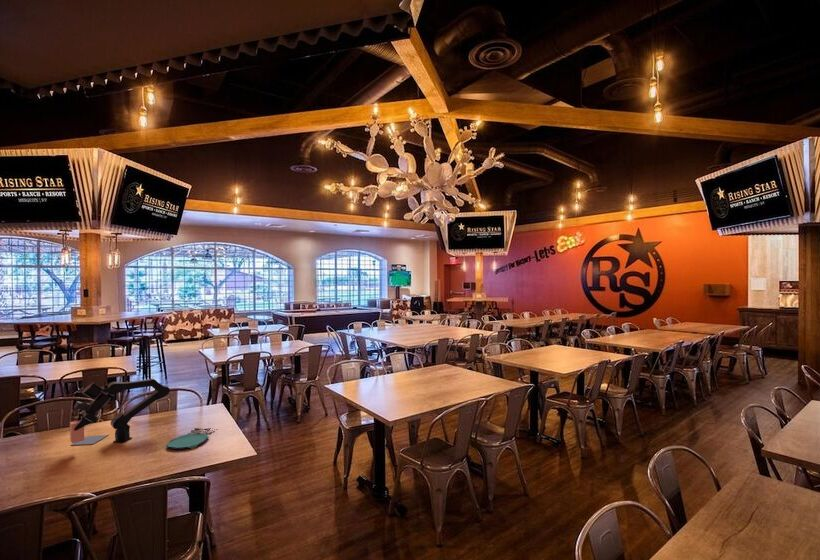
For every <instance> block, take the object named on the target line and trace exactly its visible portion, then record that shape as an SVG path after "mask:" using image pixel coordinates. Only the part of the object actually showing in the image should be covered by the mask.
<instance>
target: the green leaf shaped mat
mask: <svg viewBox="0 0 820 560" xmlns="http://www.w3.org/2000/svg"><path fill="white" fill-rule="evenodd" d="M194 429H202V428H201V427H200V428H199V427H197V428H196V427H194V428H193V429H191V430H190V432H187V434H183V435H179V436H177V437H174V438H173V439H171V440H169V441H168V442H167V443H166V445H165V447H166V448H167V449H169V448H170V449H174V450H181V449H188V448H189V449H191V450H194V449H196V448H197V446H199V445H202V444H204V443H205V442H207V440H208V439H210V437H209V435H211V434H210V433H206V432H201V431H202V430H194ZM207 429H209V430H210V429H211V427H208V428H207ZM206 431H207V432H209V431H208V430H206ZM193 448H194V449H193Z"/></svg>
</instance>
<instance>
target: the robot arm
mask: <svg viewBox="0 0 820 560" xmlns="http://www.w3.org/2000/svg"><path fill="white" fill-rule="evenodd" d="M146 387H151V388H153V389H154V390H153V391H152V392H151V393H150V395H148V396H147V397H146V398H144V399H143V400H141V401H140V402H138V404H136V405H135V406H133V407H131V408H130V409H129V410H127V411H126V412H123V413H122V411H120V412H118V413H117V414H116V415H114V416H113V417H112V419H111V421H110V426H111V427H112V428H113V429H114V430H115V431H114V440H113V441H112V443H120V444H122V443H124V442H127V441H129V440H132V439H133V437H132V436H130V428H131V425H130V424H128V423H130V421H131V420H132V419H133V417H135V416H136V415H138V414H139V413H140V412H141V411H143V410H145V409H146V408H147V407H148V406H150V405H152V404H154V402H156V401H158V400H161V399H163V398H165V397H167V396H168V395H169V394H170V392H171V390H170V388H169V386H166V385H163V384H161V383H160V382H158V381H157V380H156V379H154V378H149V379H143V380H142V379H141V380H135V381H127V382H126V381H111V382H110V383H108V384H106V385H103V386H100V385H98V384H96V383H95V382H94V381H93V382H92V383H90V384H88V385H87V386H86V387H84V388H83V390H82V391H81V394H83V395H85V396H87V397H88V398H90V399H94V400H93V401H91V400H90V401H89V402H85V401H78V400H77V401H76V402H75V404H74V406H73V408H74V409H76V410H77V419H75V421H78V420H81V421H80V422H79V423H78V424H77V426H76V427H75V429H74V430H75V431H76V430H78V429H80V428H82V427H84V428H85V427H86V426H88V425H90V424H93V423H94V424H96V423H97V421H99V420H98V419H99V418H98V416H97V414H98V412H100V410H101V411H102V410H103V409H104V406H105V405H107V403H109V402H110V400H113V401H115V400H116V395H115V394H120V393H123V392H125V391H128V390H134V389H140V388H146Z"/></svg>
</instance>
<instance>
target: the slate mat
mask: <svg viewBox="0 0 820 560" xmlns="http://www.w3.org/2000/svg"><path fill="white" fill-rule="evenodd" d="M107 437H109V434H104V435H101V434H100V435H86V436H84V441H80V442H76V443H71V444H70V446H71V447H72V446H74V447H75V446H93V445H95V444H97V443H98V442H101V441H103V439H106V438H107Z"/></svg>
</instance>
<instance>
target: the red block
mask: <svg viewBox="0 0 820 560" xmlns="http://www.w3.org/2000/svg"><path fill="white" fill-rule="evenodd" d="M80 421H81V420H78V421H76V420H74V421H69V432H70V433H69V434H70V435H69V437H70V439H69V440H70V442H71V444H73V443H76V442H80V441H84V437H85V426H84V427H82V428H80V429H78V430H76V431H75V430H74V429H75V427H76V426H77V424H78V423H79V422H80Z"/></svg>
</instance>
